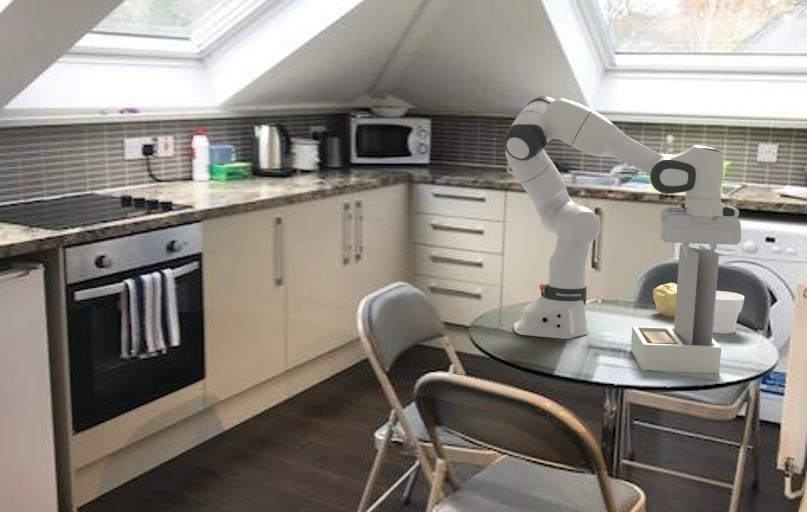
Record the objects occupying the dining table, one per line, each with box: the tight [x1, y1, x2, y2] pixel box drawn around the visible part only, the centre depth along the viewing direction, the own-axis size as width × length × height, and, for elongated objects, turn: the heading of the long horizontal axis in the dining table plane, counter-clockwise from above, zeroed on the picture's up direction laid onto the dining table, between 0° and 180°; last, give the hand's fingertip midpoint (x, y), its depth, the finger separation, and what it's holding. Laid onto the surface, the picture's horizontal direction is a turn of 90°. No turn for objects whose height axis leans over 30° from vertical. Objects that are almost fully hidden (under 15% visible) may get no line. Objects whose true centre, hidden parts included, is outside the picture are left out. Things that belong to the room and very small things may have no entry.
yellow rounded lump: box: [652, 282, 677, 318], centre depth 283 cm, size 12×12×11 cm
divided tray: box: [630, 325, 722, 374], centre depth 234 cm, size 20×18×7 cm
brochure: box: [673, 243, 720, 346], centre depth 231 cm, size 14×6×30 cm, turn 0°
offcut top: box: [643, 332, 675, 344], centre depth 234 cm, size 6×11×4 cm, turn 178°
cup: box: [713, 290, 745, 335], centre depth 266 cm, size 12×12×11 cm
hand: (698, 260), depth 229 cm, fingers closed on brochure, 3 cm apart
